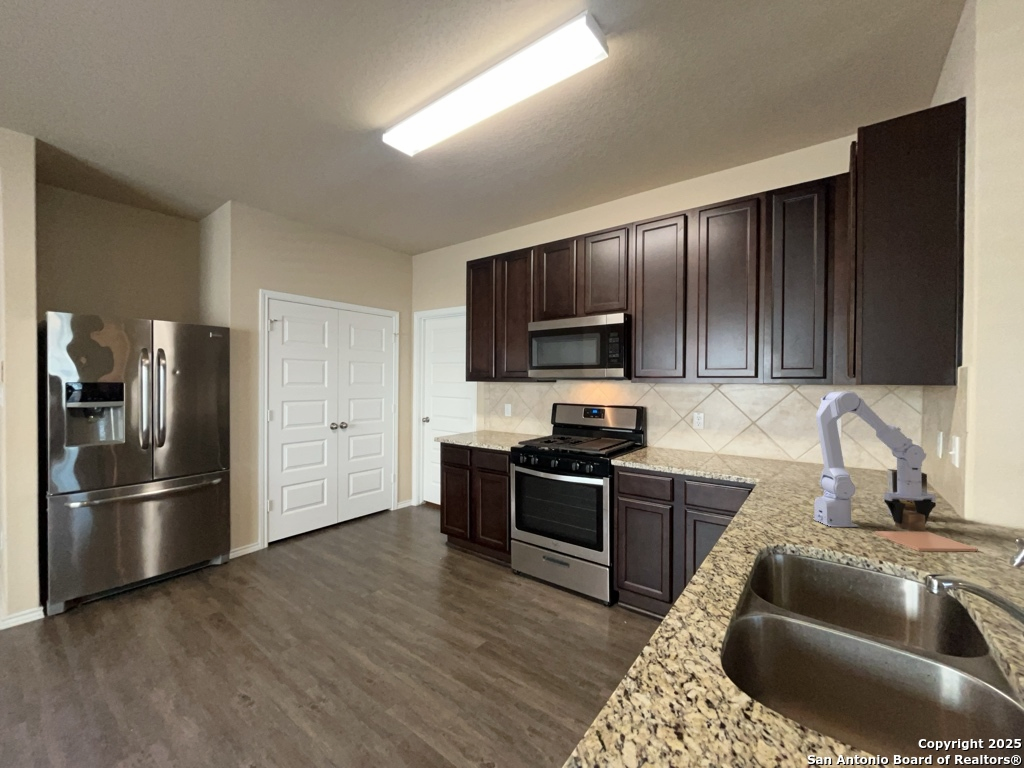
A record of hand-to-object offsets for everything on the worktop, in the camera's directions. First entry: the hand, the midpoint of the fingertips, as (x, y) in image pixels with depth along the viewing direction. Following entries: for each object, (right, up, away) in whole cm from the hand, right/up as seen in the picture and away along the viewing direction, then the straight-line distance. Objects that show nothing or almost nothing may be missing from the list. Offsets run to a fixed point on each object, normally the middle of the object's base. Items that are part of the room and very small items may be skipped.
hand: (909, 522), depth 134 cm
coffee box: (+10, -2, +12) cm, 16 cm away
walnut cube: (0, -2, 0) cm, 2 cm away
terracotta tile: (-8, -1, -13) cm, 15 cm away
